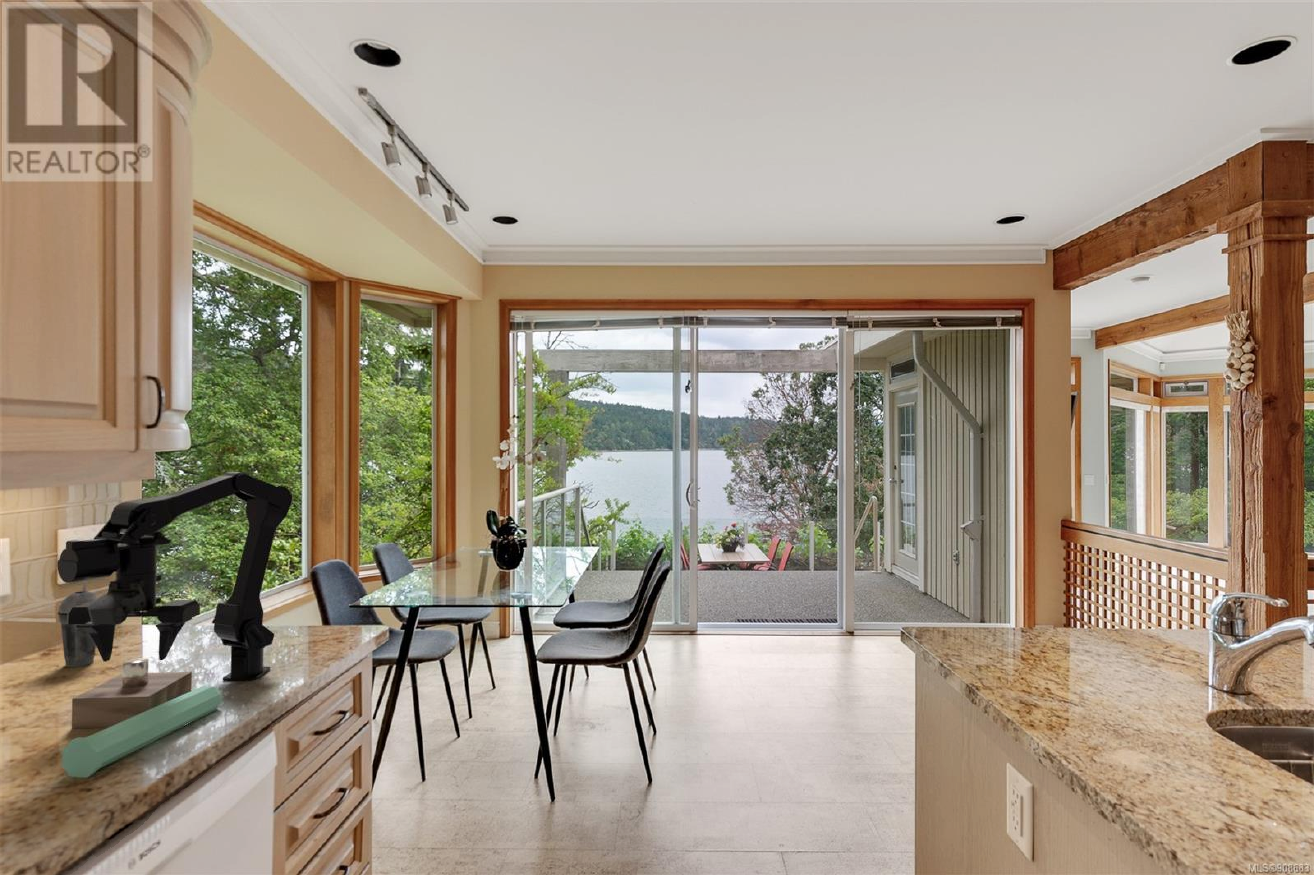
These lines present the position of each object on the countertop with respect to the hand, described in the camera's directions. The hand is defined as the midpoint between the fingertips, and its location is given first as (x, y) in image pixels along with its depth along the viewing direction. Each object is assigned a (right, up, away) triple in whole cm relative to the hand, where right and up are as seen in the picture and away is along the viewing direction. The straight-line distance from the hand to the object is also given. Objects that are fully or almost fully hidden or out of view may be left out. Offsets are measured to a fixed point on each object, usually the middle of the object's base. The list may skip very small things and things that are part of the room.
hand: (134, 660), depth 116 cm
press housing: (0, -9, 0) cm, 9 cm away
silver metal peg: (0, -9, 0) cm, 9 cm away
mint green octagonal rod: (+11, -10, -10) cm, 18 cm away
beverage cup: (-32, -10, +25) cm, 41 cm away
